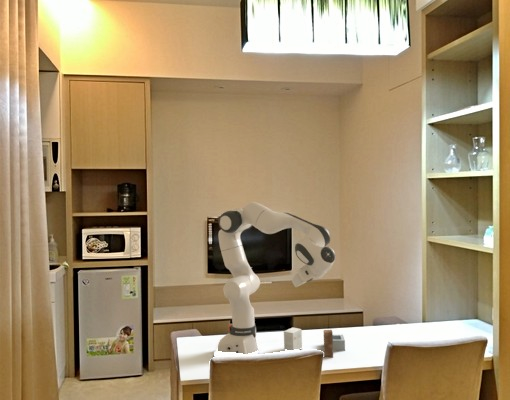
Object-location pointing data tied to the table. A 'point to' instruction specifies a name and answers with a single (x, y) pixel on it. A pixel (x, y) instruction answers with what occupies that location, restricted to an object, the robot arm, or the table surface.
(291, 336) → the small box
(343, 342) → the post socket
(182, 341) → the table surface
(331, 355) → the peg
